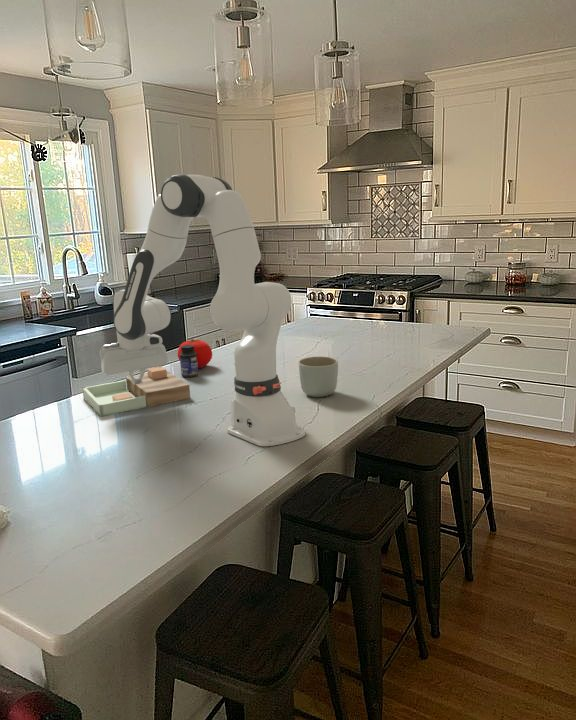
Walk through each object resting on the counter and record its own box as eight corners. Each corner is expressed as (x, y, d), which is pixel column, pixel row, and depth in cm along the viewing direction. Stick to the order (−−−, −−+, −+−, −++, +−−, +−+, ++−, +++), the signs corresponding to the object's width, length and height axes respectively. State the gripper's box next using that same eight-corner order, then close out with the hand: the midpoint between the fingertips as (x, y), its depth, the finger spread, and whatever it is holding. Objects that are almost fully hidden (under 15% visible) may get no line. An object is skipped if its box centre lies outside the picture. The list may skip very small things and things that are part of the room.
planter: (329, 386, 196) (329, 354, 193) (344, 397, 185) (344, 363, 182) (294, 391, 193) (293, 359, 190) (307, 402, 181) (306, 368, 178)
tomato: (193, 362, 234) (191, 334, 231) (218, 365, 227) (216, 337, 224) (172, 369, 225) (169, 341, 222) (197, 373, 218) (195, 344, 215)
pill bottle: (194, 378, 212) (192, 348, 209) (178, 377, 213) (176, 348, 210) (200, 373, 218) (198, 344, 215) (185, 372, 219) (182, 344, 216)
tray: (146, 407, 183) (145, 396, 182) (100, 416, 176) (99, 405, 175) (125, 390, 201) (124, 380, 200) (83, 398, 194) (82, 387, 193)
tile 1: (116, 399, 181) (117, 407, 182) (132, 396, 183) (133, 404, 184) (112, 395, 185) (113, 403, 186) (127, 392, 188) (128, 400, 188)
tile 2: (167, 376, 199) (166, 369, 198) (152, 379, 196) (151, 372, 195) (161, 373, 203) (161, 366, 202) (147, 375, 200) (147, 368, 200)
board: (190, 398, 190) (189, 384, 189) (148, 406, 183) (146, 392, 182) (166, 382, 208) (165, 369, 207) (127, 389, 201) (125, 377, 200)
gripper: (101, 347, 174) (106, 392, 178) (167, 337, 184) (171, 379, 188) (95, 344, 180) (101, 387, 183) (160, 334, 190) (164, 375, 193)
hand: (137, 383), depth 185 cm, fingers closed
